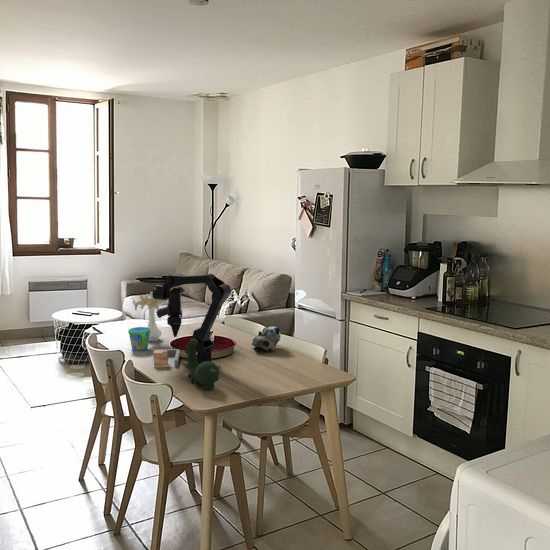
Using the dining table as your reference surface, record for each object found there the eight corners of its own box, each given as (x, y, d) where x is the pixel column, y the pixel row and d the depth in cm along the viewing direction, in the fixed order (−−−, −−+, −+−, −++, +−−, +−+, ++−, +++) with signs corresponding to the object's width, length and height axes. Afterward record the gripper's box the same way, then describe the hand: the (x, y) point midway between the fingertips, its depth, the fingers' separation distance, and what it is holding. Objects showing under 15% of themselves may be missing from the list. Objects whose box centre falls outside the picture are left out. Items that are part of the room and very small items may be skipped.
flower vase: (130, 339, 322) (128, 292, 318) (164, 335, 331) (162, 289, 327) (138, 345, 311) (136, 296, 307) (172, 340, 320) (171, 293, 316)
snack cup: (154, 352, 299) (153, 332, 297) (132, 355, 294) (131, 334, 293) (147, 344, 313) (146, 324, 311) (126, 346, 309) (125, 326, 307)
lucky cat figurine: (252, 345, 311) (264, 320, 312) (273, 355, 309) (285, 330, 311) (248, 344, 296) (261, 318, 297) (271, 355, 295) (283, 329, 296)
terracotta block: (154, 363, 279) (154, 350, 278) (168, 363, 280) (167, 349, 279) (153, 366, 275) (153, 352, 274) (167, 365, 276) (167, 352, 275)
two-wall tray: (179, 355, 293) (179, 349, 292) (177, 367, 275) (177, 360, 275) (153, 356, 292) (153, 349, 291) (150, 368, 274) (149, 361, 273)
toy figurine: (180, 382, 260) (205, 395, 239) (178, 338, 259) (203, 347, 237) (201, 378, 265) (227, 391, 244) (199, 335, 263) (225, 343, 242)
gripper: (158, 297, 291) (159, 330, 294) (155, 305, 273) (156, 340, 275) (182, 297, 293) (182, 329, 295) (180, 305, 274) (181, 339, 277)
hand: (175, 334), depth 285 cm, fingers open, 9 cm apart
